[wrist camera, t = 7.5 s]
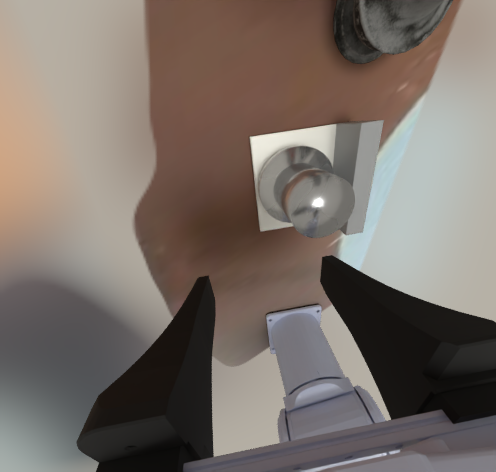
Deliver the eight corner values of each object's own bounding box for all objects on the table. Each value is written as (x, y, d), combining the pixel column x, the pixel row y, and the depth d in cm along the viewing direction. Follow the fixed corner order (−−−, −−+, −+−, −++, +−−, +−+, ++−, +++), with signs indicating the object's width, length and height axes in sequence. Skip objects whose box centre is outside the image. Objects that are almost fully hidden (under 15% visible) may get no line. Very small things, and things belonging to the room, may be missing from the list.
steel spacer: (318, 209, 19) (348, 234, 14) (273, 214, 18) (289, 241, 14) (324, 160, 16) (361, 172, 12) (273, 165, 16) (292, 178, 12)
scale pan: (327, 213, 20) (331, 216, 19) (261, 224, 20) (263, 228, 19) (333, 139, 16) (338, 140, 16) (253, 151, 16) (255, 152, 16)
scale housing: (342, 214, 22) (365, 231, 18) (259, 229, 21) (267, 248, 18) (354, 120, 17) (387, 119, 14) (249, 136, 17) (256, 139, 13)
